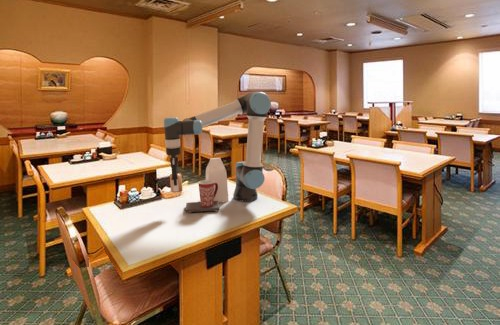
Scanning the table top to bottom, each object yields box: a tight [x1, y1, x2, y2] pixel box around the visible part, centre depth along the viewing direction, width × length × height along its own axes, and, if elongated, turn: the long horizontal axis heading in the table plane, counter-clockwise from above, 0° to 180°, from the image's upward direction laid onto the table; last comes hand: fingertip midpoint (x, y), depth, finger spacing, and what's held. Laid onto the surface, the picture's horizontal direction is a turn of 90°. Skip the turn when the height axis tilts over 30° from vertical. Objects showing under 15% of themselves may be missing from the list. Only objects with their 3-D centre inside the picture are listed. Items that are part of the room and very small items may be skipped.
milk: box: [205, 157, 229, 203], centre depth 197 cm, size 12×12×26 cm
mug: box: [197, 179, 218, 207], centre depth 182 cm, size 13×9×14 cm
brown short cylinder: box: [169, 172, 183, 193], centre depth 175 cm, size 6×6×9 cm
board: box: [185, 201, 220, 214], centre depth 183 cm, size 18×12×2 cm, turn 99°
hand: (176, 189), depth 175 cm, fingers closed on brown short cylinder, 6 cm apart
